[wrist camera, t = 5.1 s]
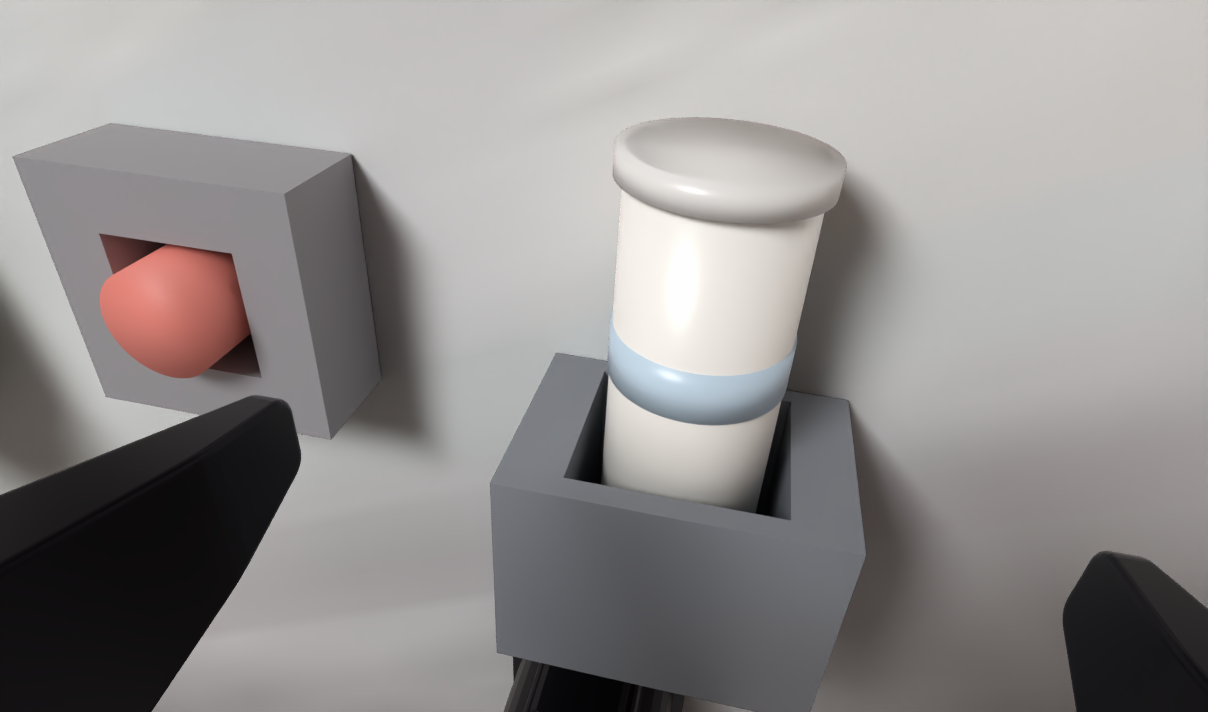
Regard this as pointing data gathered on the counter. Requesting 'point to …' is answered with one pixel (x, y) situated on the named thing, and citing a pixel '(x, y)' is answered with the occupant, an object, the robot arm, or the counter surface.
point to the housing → (675, 556)
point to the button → (176, 309)
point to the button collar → (225, 224)
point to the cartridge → (708, 300)
